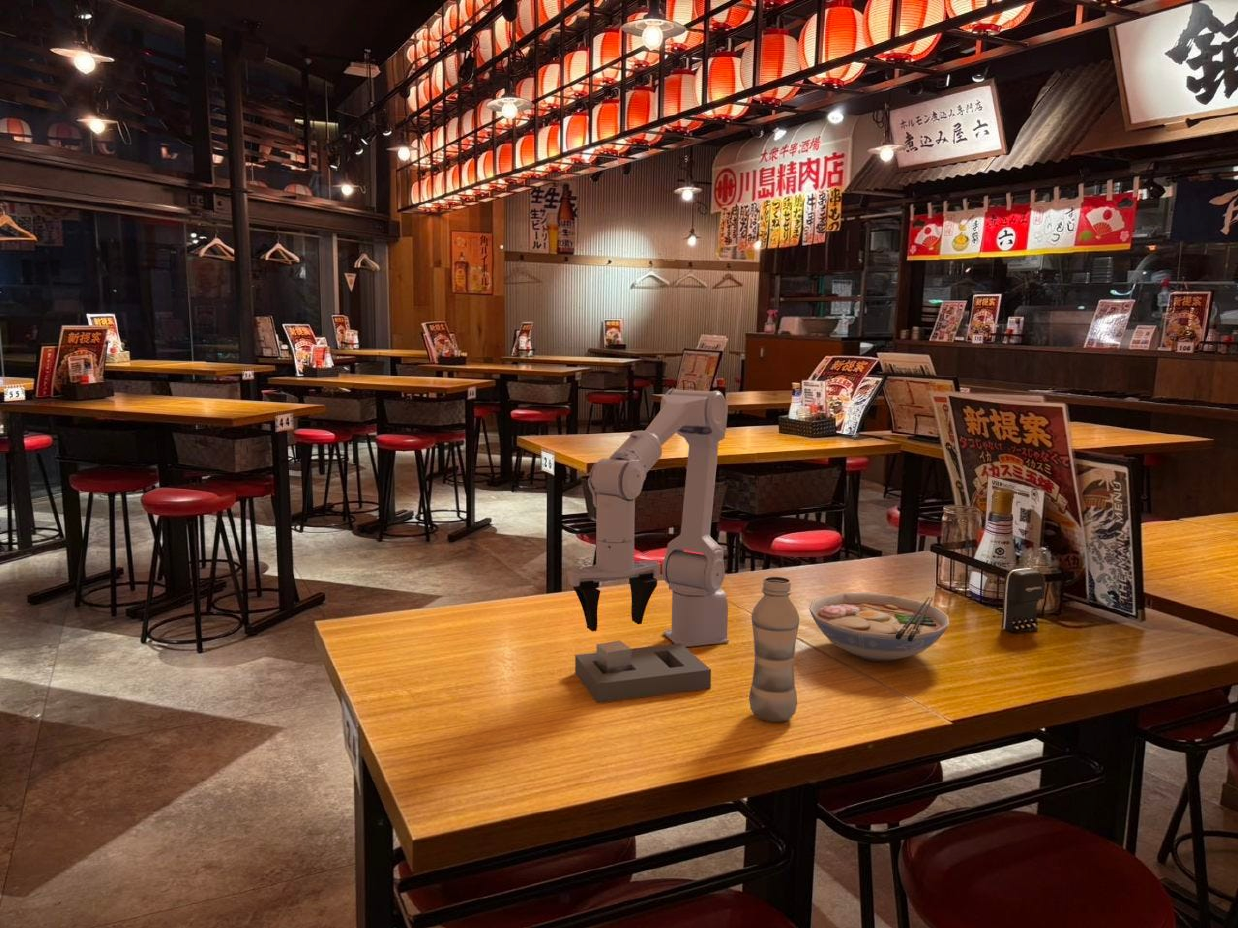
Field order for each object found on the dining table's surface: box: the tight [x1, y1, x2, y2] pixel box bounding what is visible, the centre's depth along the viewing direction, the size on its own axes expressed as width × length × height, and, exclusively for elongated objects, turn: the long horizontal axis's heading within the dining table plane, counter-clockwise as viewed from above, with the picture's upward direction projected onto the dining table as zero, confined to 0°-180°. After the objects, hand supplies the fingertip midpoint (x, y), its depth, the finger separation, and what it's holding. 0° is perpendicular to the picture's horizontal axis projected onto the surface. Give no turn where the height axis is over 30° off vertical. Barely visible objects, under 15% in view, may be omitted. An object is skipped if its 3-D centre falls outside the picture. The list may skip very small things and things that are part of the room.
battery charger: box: [1001, 567, 1046, 634], centre depth 159 cm, size 7×4×11 cm, turn 111°
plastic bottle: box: [748, 576, 800, 723], centre depth 121 cm, size 6×7×20 cm
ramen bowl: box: [808, 592, 950, 662], centre depth 147 cm, size 25×23×8 cm
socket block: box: [574, 643, 712, 704], centre depth 135 cm, size 18×12×3 cm, turn 109°
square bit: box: [595, 640, 632, 674], centre depth 133 cm, size 4×4×6 cm
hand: (614, 625), depth 132 cm, fingers open, 7 cm apart
